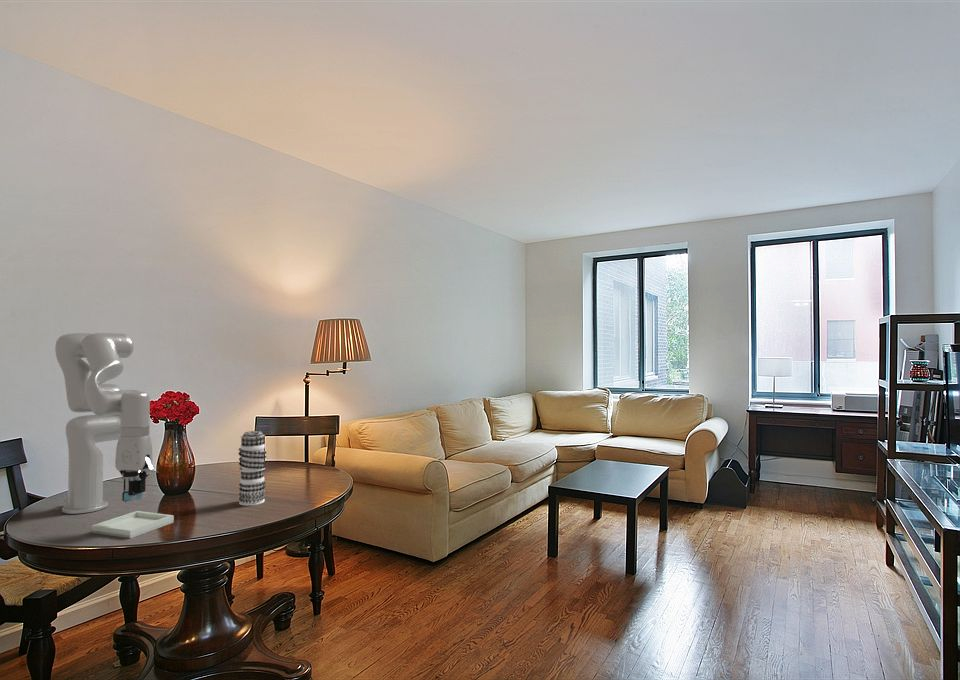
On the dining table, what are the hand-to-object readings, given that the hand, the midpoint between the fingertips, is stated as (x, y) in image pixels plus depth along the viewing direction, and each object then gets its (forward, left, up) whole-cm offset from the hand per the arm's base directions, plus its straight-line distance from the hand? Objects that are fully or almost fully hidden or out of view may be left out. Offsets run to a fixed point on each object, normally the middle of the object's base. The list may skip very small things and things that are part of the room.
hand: (134, 491), depth 166 cm
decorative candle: (+15, +34, -11) cm, 39 cm away
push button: (0, 0, -3) cm, 3 cm away
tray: (0, 0, -11) cm, 11 cm away
